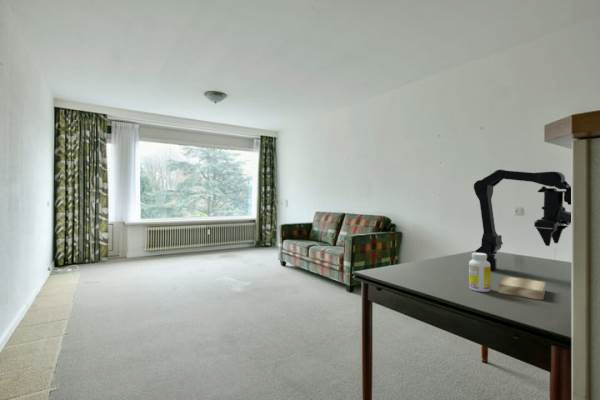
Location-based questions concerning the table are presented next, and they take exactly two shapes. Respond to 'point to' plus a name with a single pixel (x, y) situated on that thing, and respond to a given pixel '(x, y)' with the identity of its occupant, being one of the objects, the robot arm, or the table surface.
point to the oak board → (523, 287)
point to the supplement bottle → (479, 273)
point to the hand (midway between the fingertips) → (551, 244)
